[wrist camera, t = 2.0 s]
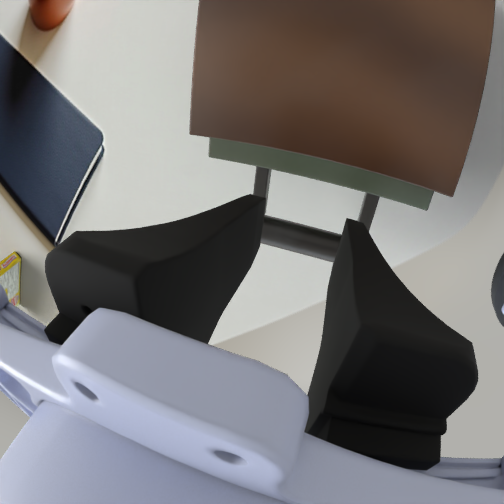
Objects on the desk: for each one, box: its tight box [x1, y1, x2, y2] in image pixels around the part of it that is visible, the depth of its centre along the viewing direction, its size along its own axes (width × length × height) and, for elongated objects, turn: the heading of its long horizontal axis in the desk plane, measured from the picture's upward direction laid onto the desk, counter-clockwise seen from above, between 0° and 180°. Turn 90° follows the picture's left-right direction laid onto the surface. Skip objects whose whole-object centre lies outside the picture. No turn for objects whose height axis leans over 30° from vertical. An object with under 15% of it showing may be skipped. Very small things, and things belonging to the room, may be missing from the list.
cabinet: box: [190, 0, 495, 197], centre depth 11 cm, size 11×11×7 cm
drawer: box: [209, 137, 434, 262], centre depth 14 cm, size 14×10×6 cm
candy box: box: [0, 252, 21, 307], centre depth 39 cm, size 16×2×8 cm, turn 141°
